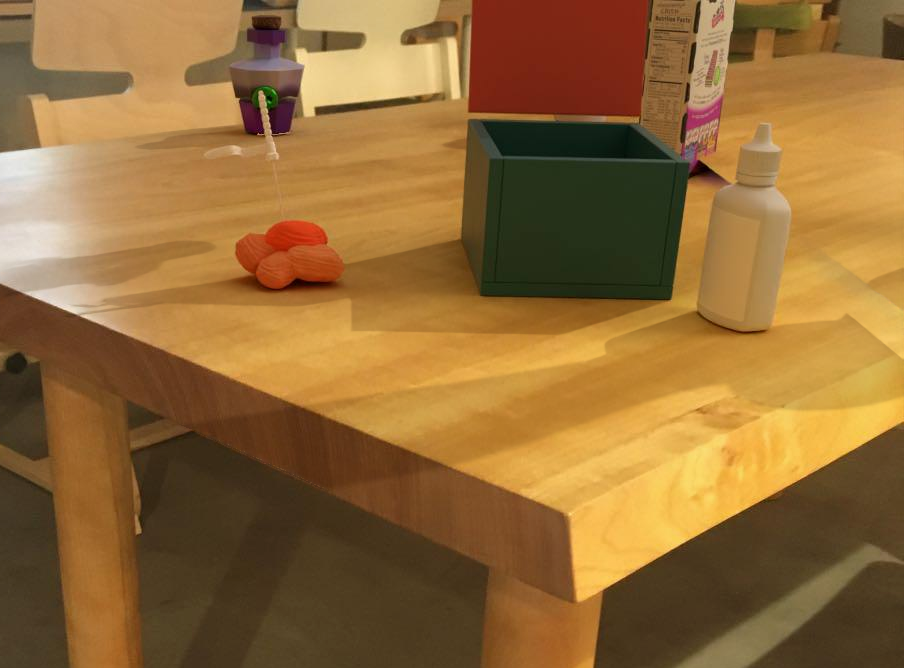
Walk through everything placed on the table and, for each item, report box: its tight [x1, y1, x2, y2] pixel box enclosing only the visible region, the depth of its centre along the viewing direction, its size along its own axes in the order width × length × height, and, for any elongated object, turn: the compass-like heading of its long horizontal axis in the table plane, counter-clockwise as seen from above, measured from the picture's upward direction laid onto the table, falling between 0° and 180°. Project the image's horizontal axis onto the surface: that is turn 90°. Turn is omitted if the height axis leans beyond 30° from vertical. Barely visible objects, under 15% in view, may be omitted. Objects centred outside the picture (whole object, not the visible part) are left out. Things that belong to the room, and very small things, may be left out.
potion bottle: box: [228, 14, 305, 136], centre depth 135 cm, size 9×9×12 cm
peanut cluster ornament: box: [203, 91, 346, 290], centre depth 82 cm, size 6×10×12 cm, turn 75°
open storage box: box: [460, 118, 691, 300], centre depth 88 cm, size 16×13×9 cm
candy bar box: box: [638, 0, 737, 178], centre depth 119 cm, size 11×5×16 cm, turn 148°
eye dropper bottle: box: [696, 122, 792, 333], centre depth 76 cm, size 4×6×12 cm
